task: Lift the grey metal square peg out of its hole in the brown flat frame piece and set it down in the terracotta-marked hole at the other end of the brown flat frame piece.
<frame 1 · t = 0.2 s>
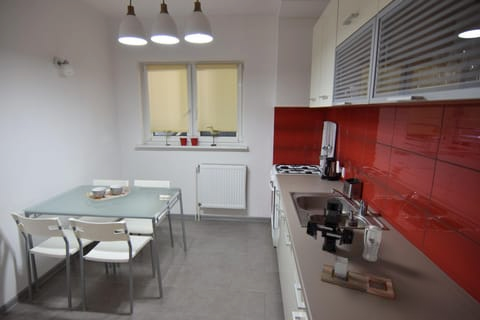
hand: (327, 241, 106), 17 cm above the counter, tool horizontal, fingers open, 9 cm apart
square peg: (339, 277, 110), resting in brown flat frame piece
beer glass: (369, 258, 124), on the counter
brown flat frame piece: (355, 281, 108), on the counter
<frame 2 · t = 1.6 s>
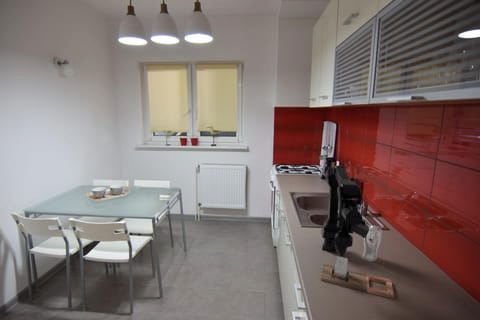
hand: (342, 250, 107), 12 cm above the counter, tool pointing down, fingers open, 9 cm apart
nothing on the counter moved.
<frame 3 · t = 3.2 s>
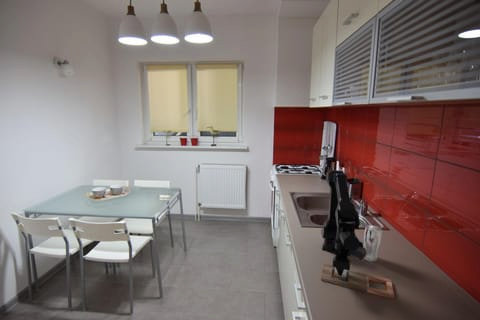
hand: (340, 271, 109), 3 cm above the counter, tool pointing down, fingers closed on square peg, 4 cm apart
square peg: (339, 277, 110), resting in brown flat frame piece, touching gripper
everything else where it was.
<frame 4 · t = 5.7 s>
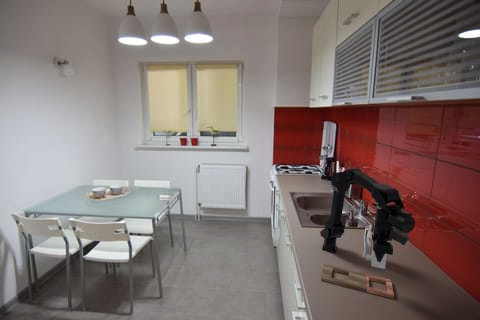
hand: (378, 258, 102), 12 cm above the counter, tool pointing down, fingers closed on square peg, 4 cm apart
square peg: (377, 264, 103), point 10 cm above the counter, touching gripper
everything else where it was.
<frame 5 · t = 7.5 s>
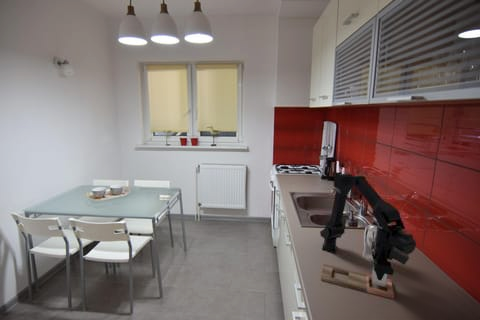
hand: (378, 276, 104), 5 cm above the counter, tool pointing down, fingers closed on square peg, 4 cm apart
square peg: (378, 281, 104), point 2 cm above the counter, touching gripper
everything else where it was.
when the fingers open (3 cm above the counter, at t = 8.6 s): square peg stays where it is, resting in brown flat frame piece.
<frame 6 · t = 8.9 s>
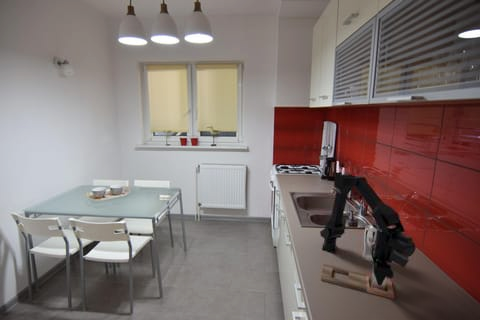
hand: (378, 278, 104), 3 cm above the counter, tool pointing down, fingers open, 7 cm apart
square peg: (377, 286, 105), resting in brown flat frame piece
everything else where it was.
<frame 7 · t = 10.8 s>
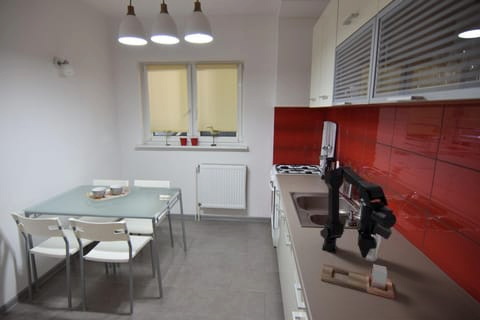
hand: (363, 251, 108), 11 cm above the counter, tool pointing down, fingers open, 9 cm apart
nothing on the counter moved.
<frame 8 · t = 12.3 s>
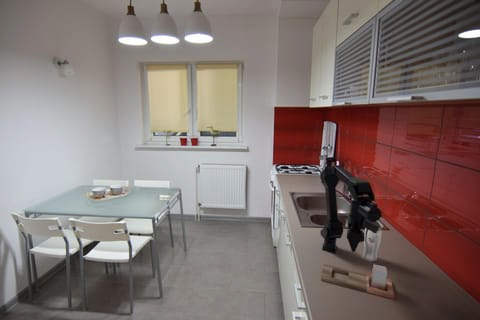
hand: (353, 246, 111), 12 cm above the counter, tool pointing down, fingers open, 9 cm apart
nothing on the counter moved.
at the end: square peg 0.0 cm from the target spot on the brown flat frame piece, point 0.0 cm above the brown flat frame piece's base; square peg tilted 0°; the gripper is holding nothing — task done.
